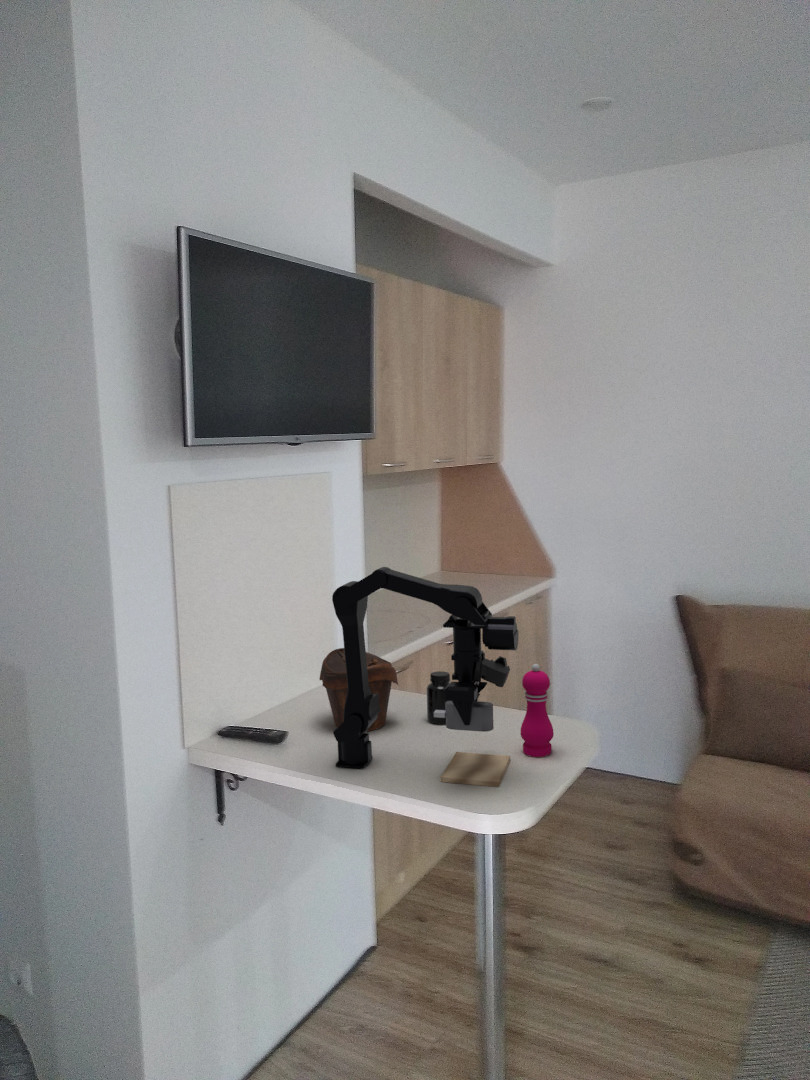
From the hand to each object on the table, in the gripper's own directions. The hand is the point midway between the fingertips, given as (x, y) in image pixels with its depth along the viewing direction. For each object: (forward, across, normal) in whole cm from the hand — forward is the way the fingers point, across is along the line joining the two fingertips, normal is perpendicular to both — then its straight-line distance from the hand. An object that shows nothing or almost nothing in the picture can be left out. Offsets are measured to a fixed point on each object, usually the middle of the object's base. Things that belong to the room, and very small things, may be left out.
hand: (469, 721), depth 170 cm
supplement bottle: (+11, +30, +14) cm, 35 cm away
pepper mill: (+11, +14, -12) cm, 22 cm away
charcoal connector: (+1, 0, +1) cm, 2 cm away
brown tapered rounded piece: (+11, +24, +33) cm, 42 cm away
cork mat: (+11, +1, -1) cm, 11 cm away
